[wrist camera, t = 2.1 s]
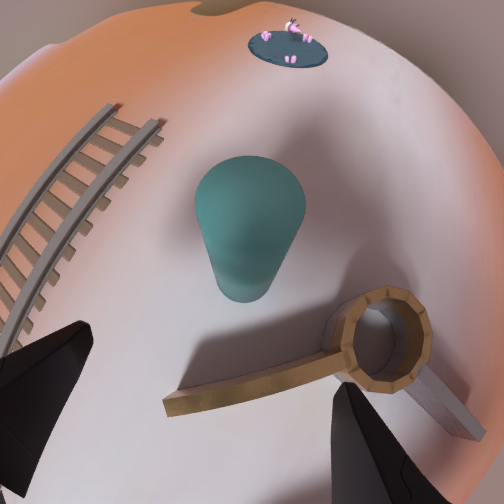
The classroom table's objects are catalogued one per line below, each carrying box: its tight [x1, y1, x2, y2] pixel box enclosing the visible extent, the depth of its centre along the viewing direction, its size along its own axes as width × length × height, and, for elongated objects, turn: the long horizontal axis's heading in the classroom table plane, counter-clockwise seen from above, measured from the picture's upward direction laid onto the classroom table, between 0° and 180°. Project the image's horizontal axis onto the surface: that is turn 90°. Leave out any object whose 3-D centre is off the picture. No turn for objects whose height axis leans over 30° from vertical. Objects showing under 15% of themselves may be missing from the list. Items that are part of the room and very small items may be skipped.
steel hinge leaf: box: [321, 300, 486, 442], centre depth 18 cm, size 7×19×4 cm, turn 45°
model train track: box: [0, 103, 164, 358], centre depth 23 cm, size 11×31×2 cm, turn 150°
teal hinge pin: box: [195, 156, 305, 303], centre depth 17 cm, size 4×4×12 cm
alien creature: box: [248, 18, 328, 68], centre depth 31 cm, size 12×12×7 cm
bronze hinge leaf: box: [162, 285, 433, 417], centre depth 18 cm, size 17×12×4 cm
